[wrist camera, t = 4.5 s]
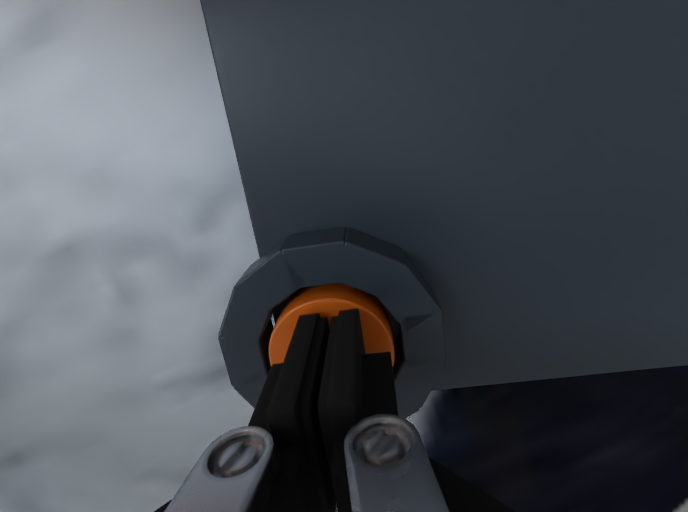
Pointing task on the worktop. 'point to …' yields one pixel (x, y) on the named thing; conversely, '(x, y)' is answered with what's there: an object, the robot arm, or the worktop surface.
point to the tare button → (328, 305)
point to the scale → (464, 180)
